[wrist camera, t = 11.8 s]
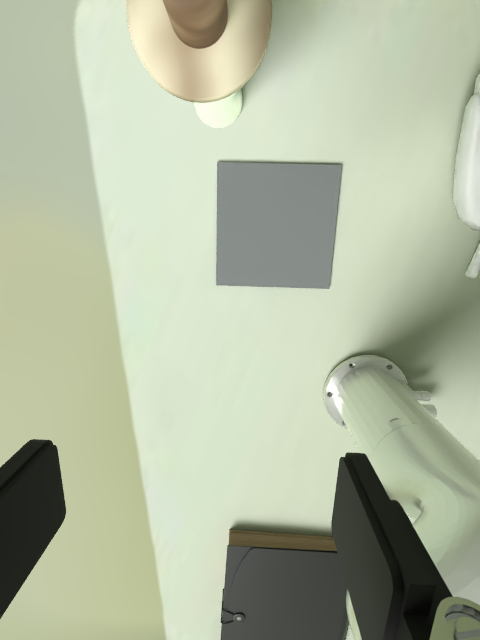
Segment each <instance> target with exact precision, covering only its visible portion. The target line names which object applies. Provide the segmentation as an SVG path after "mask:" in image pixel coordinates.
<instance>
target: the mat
mask: <svg viewBox="0 0 480 640" xmlns="http://www.w3.org/2000/svg"><path fill="white" fill-rule="evenodd" d="M341 169H342V165H323V164H281V163H240V162H217V264H216V285H227V286H258V287H290V288H321V289H329V287H330V277H331V267H332V258H333V248H334V238H335V228H336V218H337V209H338V199H339V189H340V179H341Z"/></svg>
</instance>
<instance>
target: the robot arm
mask: <svg viewBox="0 0 480 640" xmlns="http://www.w3.org/2000/svg"><path fill="white" fill-rule="evenodd" d="M351 363H352V364H351ZM349 364H351V365H349ZM387 365H388V366H387ZM328 392H329V393H328ZM323 400H324V404H325V407H326V409H327V411H328V413H329V415H330V416H331V418H332V419H333V420H334V421H335V422H336V423H337V424H339V425H340V426H342V427H344V428H346V429H348V430H349V432H350V434H351V436H352V438H353V440H354V442H355V444H356V446H357V448H358V450H359V452H360V453H346V455H345V457H341V458H340V461H339V469H338V477H337V484H336V492H335V500H334V508H333V515H332V534H333V538H334V542H335V546H336V549H337V553H338V556H339V560H340V563H341V567H342V571H343V574H344V578H345V581H346V585H347V588H348V589H347V595H346V609H347V615H348V619H349V623H350V627H351V630H352V633H353V635H354V638H355V640H480V460H478V459H477V458H476V457H475V456H474V455H473V454H472V453H471V452H470V451H469V450H467V449H466V448H465V447H464V446H463V445H462V444H461V443H460V442H459V441H458V440H457V439H456V438H455V437H454V436H453V435H452V434H451V433H450V432H449V431H448V430H447V429H446V428H445V427H444V426H443V425H442V424H441V423H439V422H438V421H437V420H436V419H435V417H436V415H437V411H436V408H435V406H434V405H424V404H420V403H419V402H418V401H417V400H423V401H429V400H430V393H429V392H428V391H413V390H412V389H411V388H410V387H409V386H408V383H407V380H406V377H405V375H404V374H403V372H402V371H401V370H400V368H399V367H397V366H396V365H395V364H394V363H393V362H391V361H390V360H388V359H386V358H383V357H381V356H376V355H360V356H355V357H352V358H349V359H347V360H346V361H344V362H342V363H341V364H339V365H338V366H337V367H336V368H335V369H334V370H333V371H332V372H331V373H330V375H329V377H328V378H327V380H326V383H325V385H324V391H323ZM62 486H63V485H62V479H61V471H60V464H59V457H58V450H57V447H56V445H53V443H52V441H50V440H35V439H33V440H30V441H29V442H27V443H26V444H25V445H24V446H23V447H22V448H21V449H20V450H19V451H18V452H16V453H15V454H14V455H13V456H12V457H11V458H10V459H9V460H8V461H7V462H6V463H5V464H4V465H2V467H0V619H1V617H2V615H3V614H4V612H5V611H6V609H7V608H8V606H9V604H10V603H11V601H12V600H13V599H14V597H15V595H16V594H17V592H18V591H19V589H20V588H21V586H22V585H23V583H24V582H25V580H26V579H27V577H28V575H29V574H30V572H31V571H32V569H33V568H34V566H35V565H36V563H37V562H38V560H39V559H40V557H41V555H42V554H43V552H44V551H45V549H46V548H47V546H48V545H49V543H50V542H51V540H52V539H53V537H54V535H55V534H56V532H57V531H58V529H59V528H60V526H61V525H62V523H63V521H64V518H65V515H66V507H65V500H64V493H63V487H62ZM407 515H408V516H410V517H412V518H414V519H417V520H416V521H415V522H414V523H413V524H412V523H411V522H410V520H409V518H408V516H407Z"/></svg>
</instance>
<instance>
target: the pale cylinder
mask: <svg viewBox="0 0 480 640" xmlns="http://www.w3.org/2000/svg"><path fill="white" fill-rule="evenodd" d="M242 101H243V99H242V92H241V89H239V90H238V91H237V92H236V93H234V94H232V95H230V96H229V97H227V98H224V99H221V100H219V101H214V102H207V103H197V102H194V107H195V110H196V113H197V115H198V117H199V118H200V119H201V120H202V121H203V122H204V123H205V124H206V125H208V126H210V127H213V128H223V127H226V126H229V125H230V124H232V123H233V122H234V121H235V120H236V119H237V117H238V116H239V114H240V111H241V108H242Z"/></svg>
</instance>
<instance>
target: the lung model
mask: <svg viewBox="0 0 480 640" xmlns="http://www.w3.org/2000/svg"><path fill="white" fill-rule="evenodd" d="M453 201H454V204H455V207H456V210H457V213H458V216H459V219H460V220H461V221H463V222H464V223H465V224H467V225H468V226H469V227H471V228H472V229H473V230H480V72H479V74H478V76H477V78H476V82H475V90H474V95H472V96H471V98H470V100H469V102H468V103H467V105H466V107H465V112H464V117H463V122H462V127H461V133H460V138H459V143H458V148H457V154H456V164H455V176H454V188H453ZM479 270H480V243H479V244H478V247H477V250H476V252H475V253H474V256H473V258H472V261H471V262H470V265H469V267H468V269H467V272H466V274H465V276H467V277H471V278H476V276H477V274H478V273H479Z"/></svg>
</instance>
